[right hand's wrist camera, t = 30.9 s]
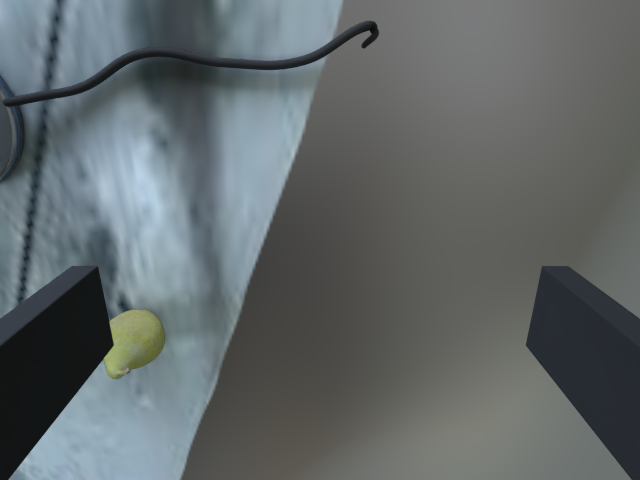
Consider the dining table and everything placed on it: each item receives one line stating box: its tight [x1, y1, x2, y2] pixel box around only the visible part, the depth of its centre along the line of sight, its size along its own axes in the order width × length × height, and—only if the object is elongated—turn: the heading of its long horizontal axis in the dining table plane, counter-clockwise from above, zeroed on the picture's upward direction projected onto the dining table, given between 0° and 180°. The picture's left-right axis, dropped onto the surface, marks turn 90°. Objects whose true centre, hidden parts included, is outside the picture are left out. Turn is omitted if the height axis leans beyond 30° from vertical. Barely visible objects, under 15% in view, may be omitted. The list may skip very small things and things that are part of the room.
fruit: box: [104, 309, 165, 379], centre depth 46 cm, size 7×8×12 cm
